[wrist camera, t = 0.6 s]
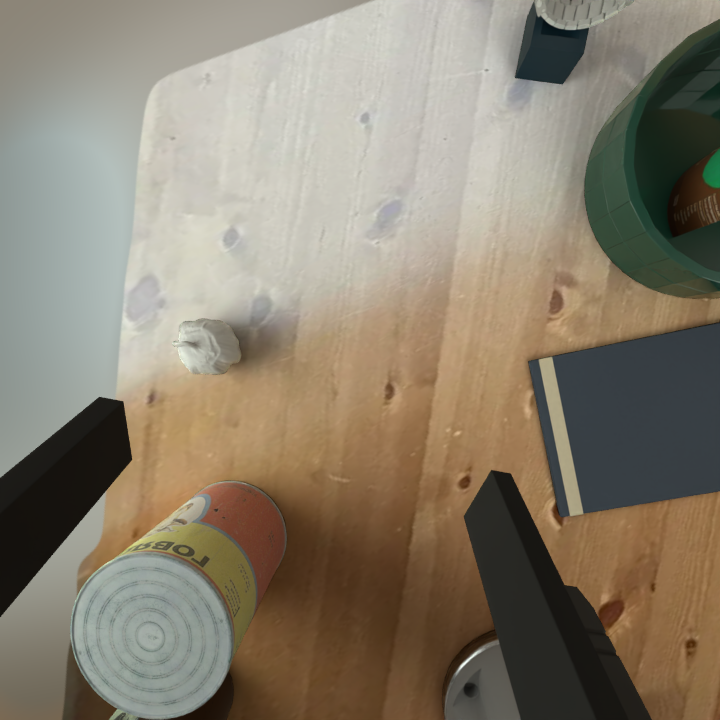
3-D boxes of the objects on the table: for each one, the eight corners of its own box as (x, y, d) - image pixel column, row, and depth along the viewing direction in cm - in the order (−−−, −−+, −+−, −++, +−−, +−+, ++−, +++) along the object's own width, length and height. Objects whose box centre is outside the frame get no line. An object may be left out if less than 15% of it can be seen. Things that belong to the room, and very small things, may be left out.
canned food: (252, 461, 33) (179, 524, 21) (306, 559, 33) (263, 677, 21) (160, 511, 34) (40, 598, 22) (213, 606, 34) (121, 746, 22)
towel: (785, 478, 30) (791, 479, 29) (559, 515, 31) (561, 517, 31) (754, 315, 29) (760, 314, 29) (528, 360, 31) (530, 361, 31)
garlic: (182, 353, 33) (145, 354, 28) (209, 308, 33) (177, 300, 28) (231, 385, 33) (203, 392, 28) (259, 340, 33) (235, 338, 28)
